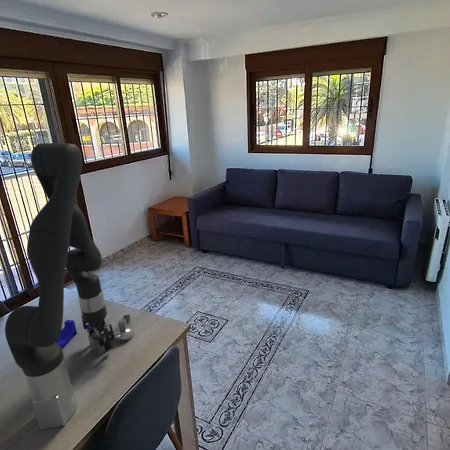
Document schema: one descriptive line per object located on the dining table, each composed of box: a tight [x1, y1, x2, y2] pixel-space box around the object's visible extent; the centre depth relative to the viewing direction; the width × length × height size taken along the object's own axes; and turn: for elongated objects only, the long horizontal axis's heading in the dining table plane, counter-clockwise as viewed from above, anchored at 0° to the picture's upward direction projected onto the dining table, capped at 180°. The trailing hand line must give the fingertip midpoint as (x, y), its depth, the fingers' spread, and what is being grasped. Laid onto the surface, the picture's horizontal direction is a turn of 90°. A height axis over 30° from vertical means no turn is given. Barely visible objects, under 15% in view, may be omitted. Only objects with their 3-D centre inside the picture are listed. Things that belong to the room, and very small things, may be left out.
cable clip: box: [55, 319, 78, 350], centre depth 112 cm, size 12×4×6 cm, turn 169°
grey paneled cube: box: [87, 331, 113, 356], centre depth 109 cm, size 5×5×6 cm
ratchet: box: [113, 314, 135, 343], centre depth 117 cm, size 14×7×6 cm, turn 10°
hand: (101, 344), depth 109 cm, fingers open, 8 cm apart
